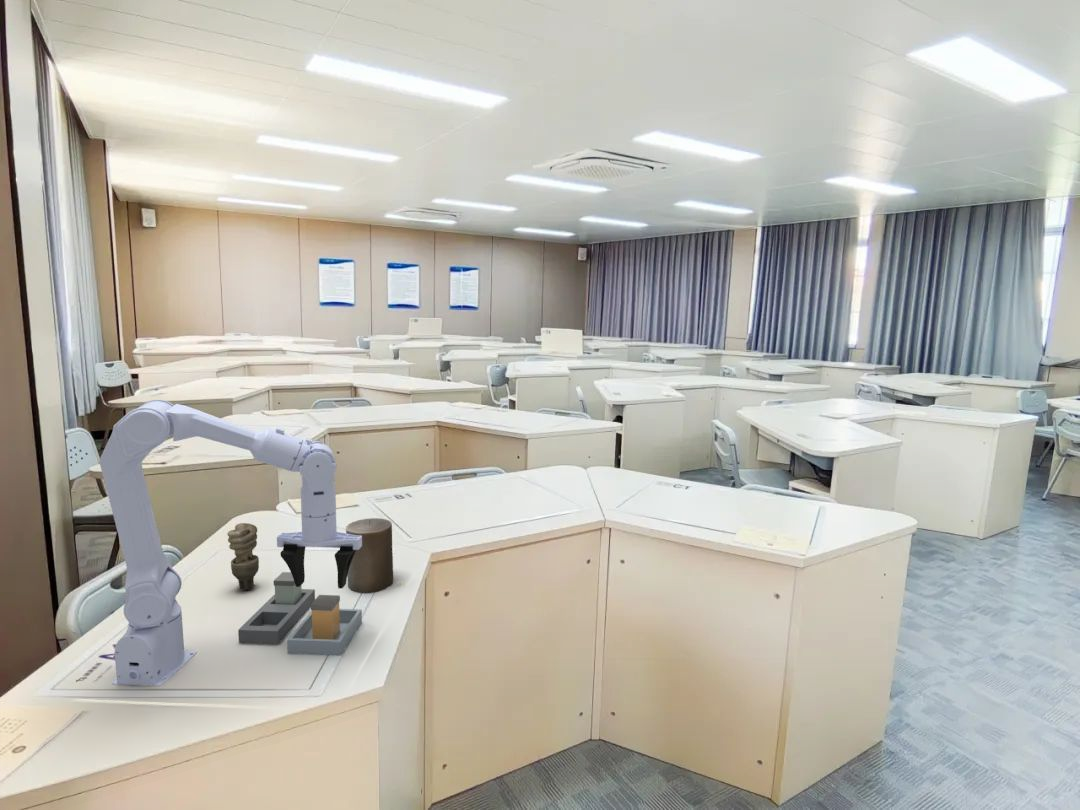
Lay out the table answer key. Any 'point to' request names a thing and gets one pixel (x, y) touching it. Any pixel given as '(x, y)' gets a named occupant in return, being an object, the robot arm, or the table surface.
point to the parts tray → (306, 644)
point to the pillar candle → (371, 556)
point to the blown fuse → (325, 617)
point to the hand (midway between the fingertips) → (321, 585)
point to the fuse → (286, 590)
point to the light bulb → (244, 554)
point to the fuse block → (274, 620)
